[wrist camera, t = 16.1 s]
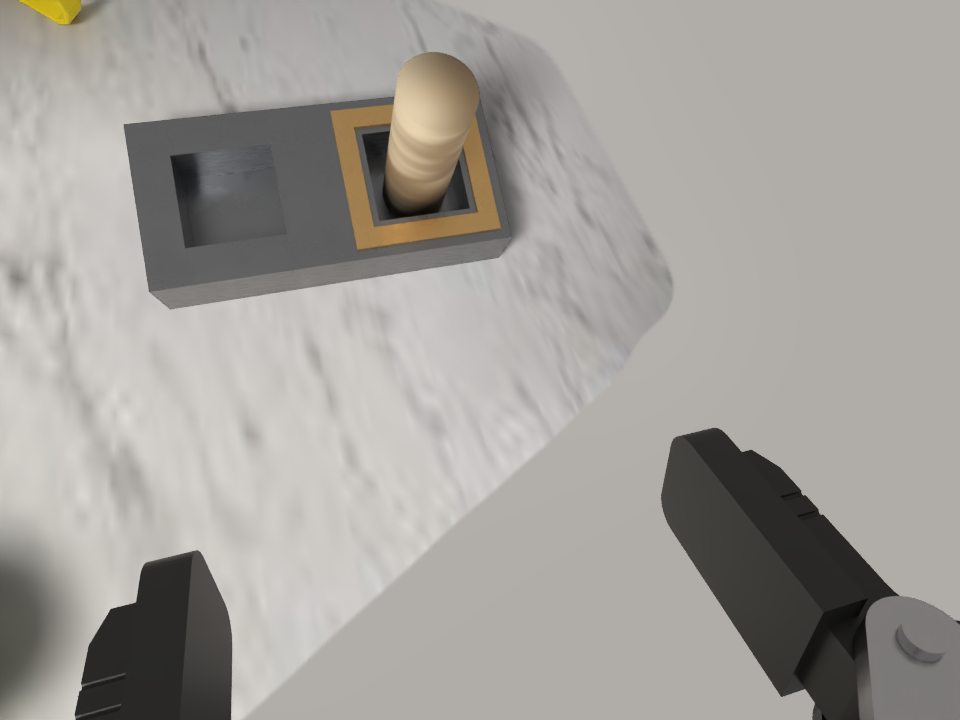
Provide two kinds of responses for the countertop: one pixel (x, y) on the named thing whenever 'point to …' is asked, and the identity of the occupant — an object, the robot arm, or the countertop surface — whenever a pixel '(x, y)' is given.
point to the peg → (427, 132)
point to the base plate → (296, 202)
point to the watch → (56, 9)
